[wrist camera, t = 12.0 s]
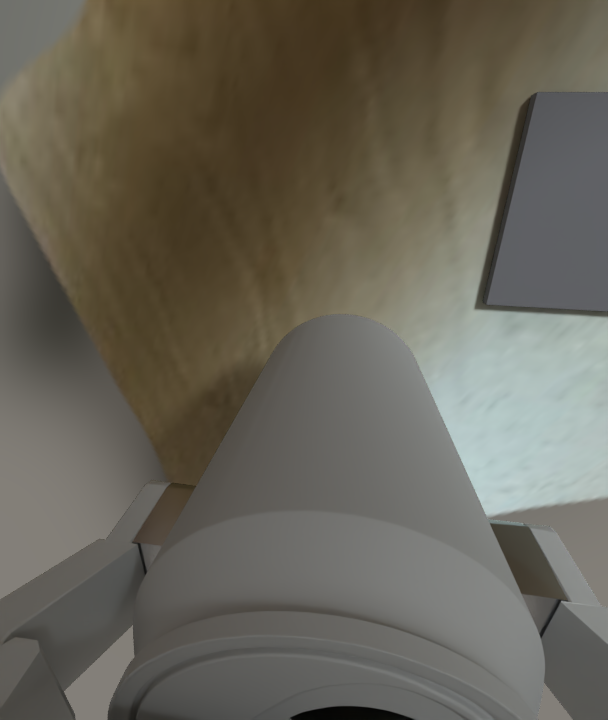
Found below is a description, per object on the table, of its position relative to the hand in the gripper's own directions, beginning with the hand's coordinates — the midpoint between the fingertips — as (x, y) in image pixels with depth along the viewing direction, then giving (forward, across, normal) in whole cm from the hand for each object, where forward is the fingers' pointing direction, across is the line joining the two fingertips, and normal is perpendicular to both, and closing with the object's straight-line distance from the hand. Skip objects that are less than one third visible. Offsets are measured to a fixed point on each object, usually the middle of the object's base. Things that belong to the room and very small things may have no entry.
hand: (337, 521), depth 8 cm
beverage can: (+8, 0, +1) cm, 8 cm away
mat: (+16, -13, -6) cm, 21 cm away
